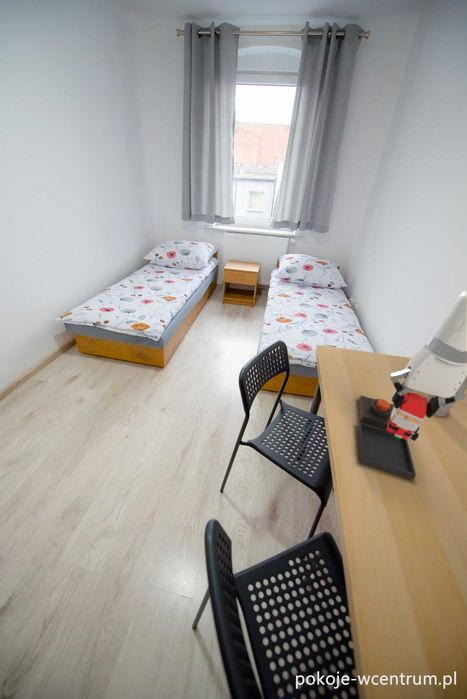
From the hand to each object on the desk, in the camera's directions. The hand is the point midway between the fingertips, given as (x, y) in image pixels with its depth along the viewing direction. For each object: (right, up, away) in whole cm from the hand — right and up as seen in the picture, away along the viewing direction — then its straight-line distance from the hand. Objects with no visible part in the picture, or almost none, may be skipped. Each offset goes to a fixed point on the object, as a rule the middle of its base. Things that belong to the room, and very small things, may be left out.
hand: (411, 408), depth 67 cm
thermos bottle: (+25, -6, +28) cm, 38 cm away
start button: (+3, -4, +19) cm, 19 cm away
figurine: (0, -6, +4) cm, 8 cm away
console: (+2, -7, +21) cm, 22 cm away
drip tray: (-2, -14, +10) cm, 17 cm away
